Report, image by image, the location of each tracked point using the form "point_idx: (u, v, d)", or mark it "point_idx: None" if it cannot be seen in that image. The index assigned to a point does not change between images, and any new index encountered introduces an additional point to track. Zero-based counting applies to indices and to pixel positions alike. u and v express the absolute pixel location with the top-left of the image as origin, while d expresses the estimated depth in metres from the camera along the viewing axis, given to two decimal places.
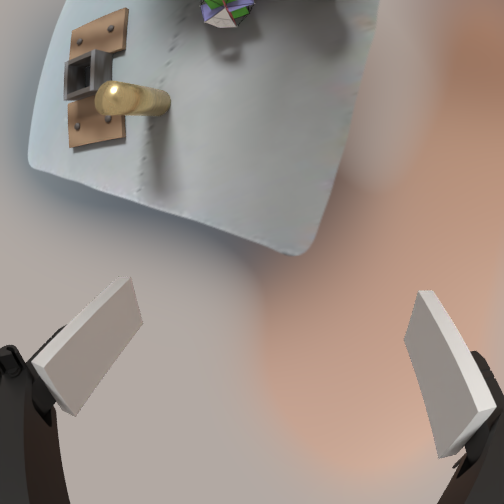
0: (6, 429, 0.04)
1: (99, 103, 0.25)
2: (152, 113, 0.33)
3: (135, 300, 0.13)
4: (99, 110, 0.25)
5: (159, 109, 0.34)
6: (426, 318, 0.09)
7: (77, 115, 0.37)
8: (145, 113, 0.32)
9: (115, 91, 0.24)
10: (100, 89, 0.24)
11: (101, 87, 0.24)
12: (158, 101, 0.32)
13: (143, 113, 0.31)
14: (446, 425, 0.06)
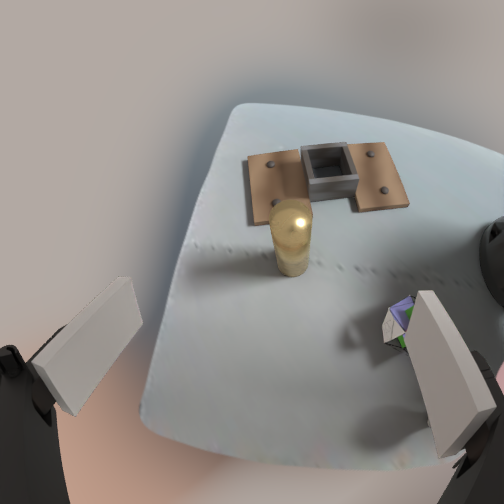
0: (6, 429, 0.04)
1: (285, 206, 0.27)
2: (278, 261, 0.34)
3: (135, 300, 0.13)
4: (275, 208, 0.27)
5: (283, 268, 0.35)
6: (427, 318, 0.09)
7: (283, 163, 0.42)
8: (276, 255, 0.33)
9: (297, 227, 0.26)
10: (302, 206, 0.27)
11: (304, 207, 0.27)
12: (292, 267, 0.33)
13: (276, 253, 0.32)
14: (446, 425, 0.06)
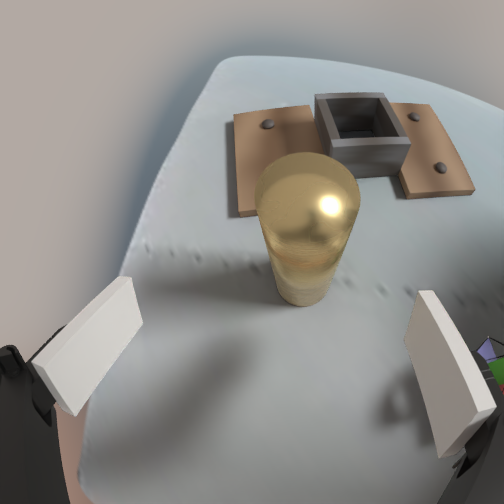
0: (6, 429, 0.04)
1: (293, 167, 0.11)
2: (277, 282, 0.18)
3: (135, 300, 0.13)
4: (271, 169, 0.11)
5: (286, 294, 0.19)
6: (427, 318, 0.09)
7: (287, 122, 0.26)
8: (274, 273, 0.17)
9: (326, 216, 0.10)
10: (334, 166, 0.11)
11: (340, 168, 0.11)
12: (303, 295, 0.17)
13: (273, 270, 0.16)
14: (446, 425, 0.06)
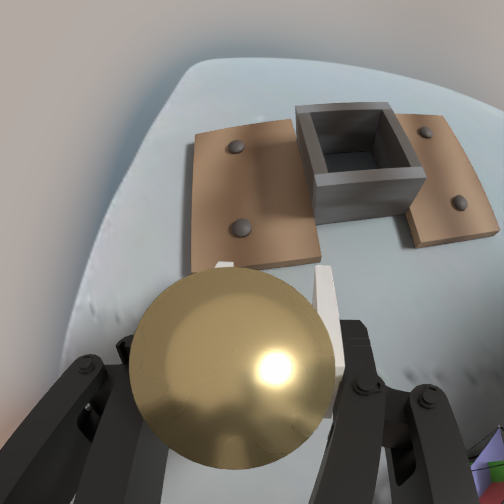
0: (113, 434, 0.05)
1: (202, 305, 0.05)
2: None
3: None
4: (160, 308, 0.06)
5: None
6: (315, 288, 0.12)
7: (261, 144, 0.21)
8: None
9: (256, 425, 0.04)
10: (287, 305, 0.05)
11: (299, 311, 0.05)
12: None
13: None
14: None
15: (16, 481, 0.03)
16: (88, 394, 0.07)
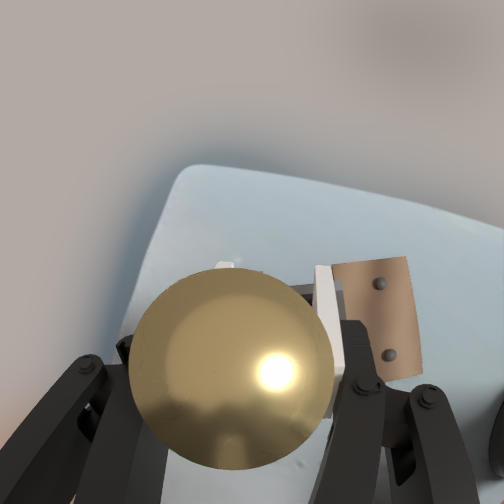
0: (113, 434, 0.05)
1: (201, 306, 0.05)
2: None
3: None
4: (160, 309, 0.06)
5: None
6: (315, 288, 0.12)
7: None
8: None
9: (255, 425, 0.04)
10: (286, 306, 0.05)
11: (298, 312, 0.05)
12: None
13: None
14: None
15: (16, 481, 0.03)
16: (88, 394, 0.07)
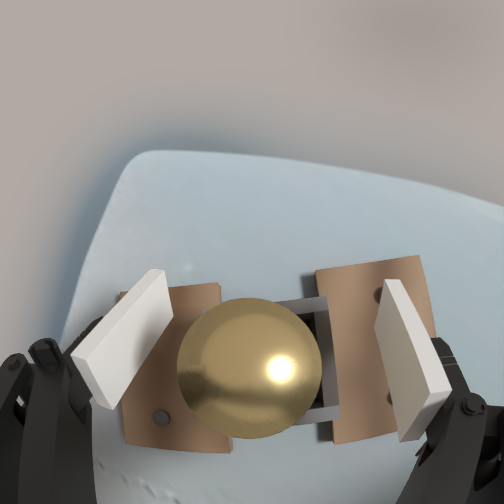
0: (37, 427, 0.05)
1: (230, 325, 0.08)
2: None
3: (167, 293, 0.14)
4: (200, 327, 0.08)
5: None
6: (390, 305, 0.11)
7: (181, 320, 0.19)
8: None
9: (268, 406, 0.07)
10: (289, 325, 0.08)
11: (298, 329, 0.07)
12: None
13: None
14: (405, 408, 0.07)
15: None
16: (18, 386, 0.06)
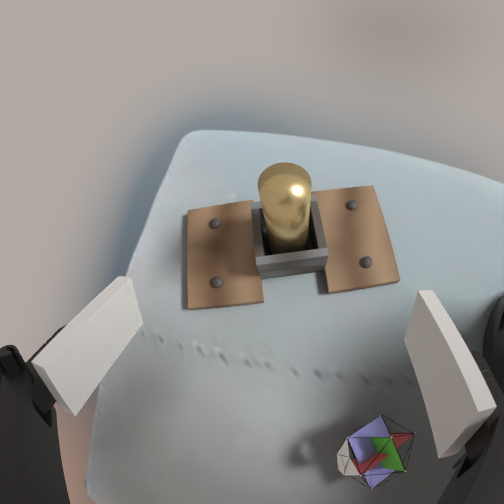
0: (6, 429, 0.04)
1: (277, 170, 0.22)
2: (271, 243, 0.29)
3: (135, 300, 0.13)
4: (266, 172, 0.22)
5: (277, 252, 0.29)
6: (426, 318, 0.09)
7: (231, 221, 0.33)
8: (269, 235, 0.27)
9: (293, 194, 0.21)
10: (298, 169, 0.21)
11: (301, 170, 0.21)
12: (288, 250, 0.28)
13: (268, 232, 0.27)
14: (446, 425, 0.06)
15: None
16: None
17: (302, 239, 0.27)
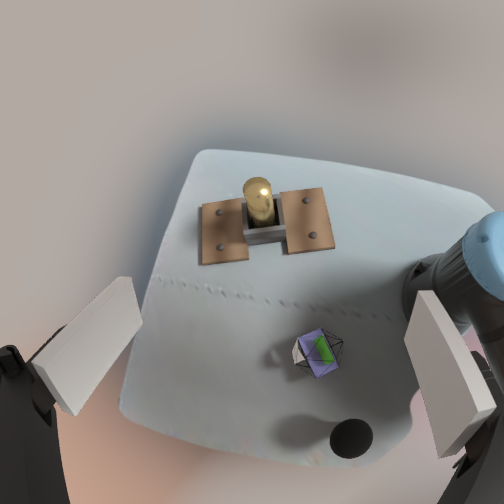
0: (6, 429, 0.04)
1: (253, 181, 0.41)
2: (253, 223, 0.48)
3: (135, 300, 0.13)
4: (247, 182, 0.41)
5: None
6: (427, 318, 0.09)
7: (229, 211, 0.53)
8: (251, 217, 0.47)
9: (260, 193, 0.40)
10: (264, 180, 0.41)
11: (266, 181, 0.41)
12: (262, 226, 0.48)
13: None
14: (446, 425, 0.06)
15: None
16: None
17: (270, 220, 0.46)
